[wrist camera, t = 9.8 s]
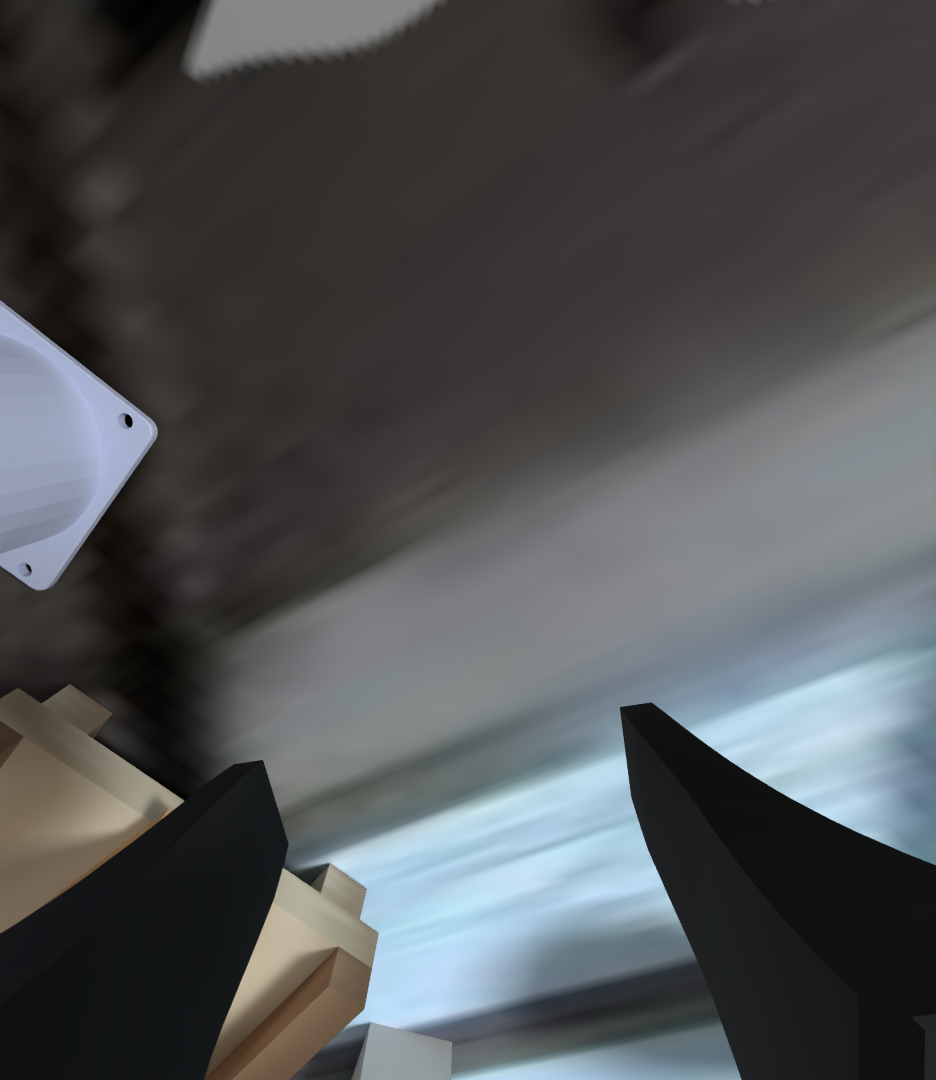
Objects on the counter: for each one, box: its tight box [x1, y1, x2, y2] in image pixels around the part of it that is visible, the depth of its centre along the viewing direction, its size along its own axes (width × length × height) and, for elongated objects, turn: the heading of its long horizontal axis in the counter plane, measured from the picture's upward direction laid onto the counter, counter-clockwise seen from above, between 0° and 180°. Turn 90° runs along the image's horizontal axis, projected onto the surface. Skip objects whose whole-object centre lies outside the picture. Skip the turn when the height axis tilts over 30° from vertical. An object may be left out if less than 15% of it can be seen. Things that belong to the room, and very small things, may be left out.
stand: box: [0, 684, 378, 1080], centre depth 22 cm, size 17×10×4 cm, turn 50°
